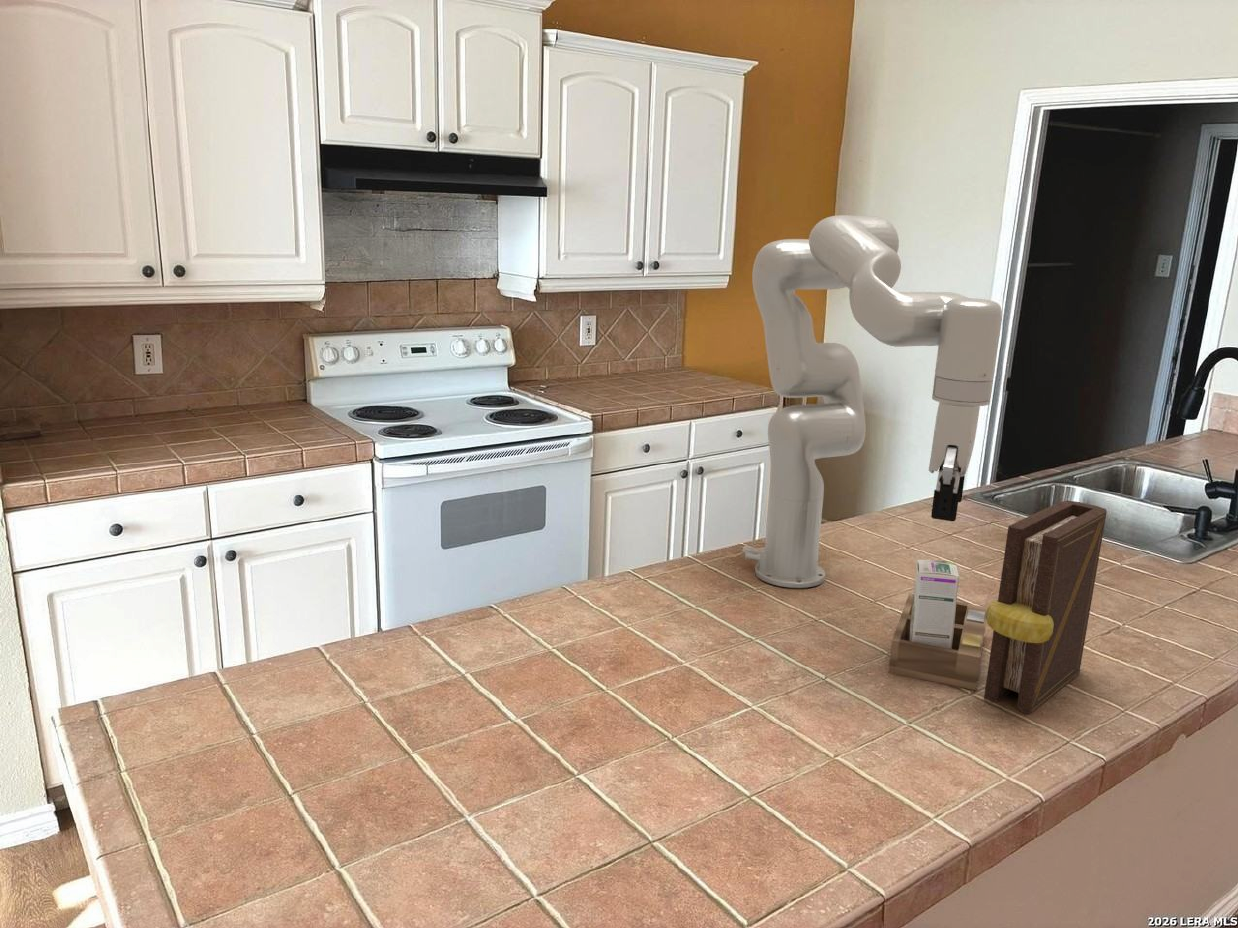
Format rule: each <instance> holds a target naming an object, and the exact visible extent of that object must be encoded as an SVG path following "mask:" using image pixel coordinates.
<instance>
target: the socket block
mask: <svg viewBox="0 0 1238 928" xmlns="http://www.w3.org/2000/svg"><path fill="white" fill-rule="evenodd" d="M913 594H914V593H908V596H907V599H906V600H905V601H906V602H905V603H904V606H903V609H902V612H901V614H900V617H899V620H898V623H897V626H896V628H895V631H894V633H893V635H892V636H893V637H892V639H891V644H890V645H891V646H890V654H889V664H888V673H891V674H896V675H900V676H904V677H909V678H915V679H920V680H925V681H930V682H935V683H939V684H943V685H949V686H954V687H958V688H962V689H968V690H972V691H977V686H978V678H979V673H980V672H979V671H980V666H981V658H982V651H983V645H984V639H985V630H986V625H987V620H986V615H987V609H988V607H989V606H982V605H977V604H971V603H965V602H959V601H957V603H956V613H955V623H954V632H953V641H952V649H948V648H943V647H938V646H933V645H928V644H922V643H917V642H912V641H909V633H910V624H911V614H912V605H913Z"/></svg>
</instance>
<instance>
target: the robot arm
mask: <svg viewBox="0 0 1238 928" xmlns="http://www.w3.org/2000/svg"><path fill="white" fill-rule="evenodd" d="M808 236H809V237H808V238H807V239H806V238H788V239H786V238H785V239H777V240H775V241H774V240H773V241H772V242H768V243H767V244H765V245H764V246H763V247H761V249H760V250H759V251H758V253H757V254H756V256H755V258H754V262H753V267H752V275H751V277H752V280H751V281H752V287H753V294H754V297H755V301H756V305H757V307H758V309H759V313H760V316H761V319H762V324H763V328H764V339H765V347H766V348H765V349H766V355H767V356H766V357H767V364H768V371H769V372H768V373H769V378H770V384H771V386H772V389H773V391H774V392H775V394H776V395H778V396H779V397H782V398H787V399H788V398H789V399H799V398H800V399H801V398H819V397H822V398H823V402H824V403H813V404H811V403H810V404H796V405H795V404H794V405H789V406H785V407H782V408H780V409H778V410H777V411H776V412H775V413H773V415H772V416H771V418H769V422H768V425H767V440H768V447H769V448H768V449H769V461H770V466H769V467H770V470H769V471H770V473H769V474H770V475H769V476H770V478H769V490H768V491H769V492H768V493H769V494H768V507H767V516H766V517H767V519H766V531H765V532H766V534H765V545H764V546H761V547H760V548H759V547H758V548H757V547H754V546H749V545H743V547H742V550H741V551H742V552H741V553H742V554H741V555H742V556H744V559H745V560H746V561H754V562H757V564H756V565H755V567H754V573H755V575H756V576H757V578H758V579H760V580H761V581H763V582H765V583H767V584H771V585H774V586H777V587H783V588H791V589H806V588H813V587H817V586H818V585H820V584H822V583H824V581H825V580H826V571H825V569H824V568H822V566H820V565H818V562H819V561H818V560H819V552H820V551H819V548H820V539H821V538H820V537H821V527H822V515H823V505H824V504H823V503H824V494H825V491H824V490H825V485H824V484H825V483H824V479H823V476H822V474H821V472H820V470H819V468H818V467H817V465H816V461H815V460H818V459H822V458H823V459H824V458H825V459H826V458H834V457H844V456H845V457H846V456H850V455H853V454H855V453H857V452H858V451H859V450H860V449H861V448H862V447H863V444H864V442H865V439H866V432H867V431H866V429H867V427H866V416H865V409H864V408H865V407H864V399H863V391H862V384H861V376H860V370H859V365H858V362H857V359H856V356H855V355H854V354H853V352H852V351H851V349H850V348H848V346H846V345H844V344H841V343H837V342H817V340H816V337H815V332H814V323H813V318H812V314H811V313H810V311H809V309H808V308H807V306H806V304H805V303H804V302H803V300H802V299H801V298H800V297H799V296H798V295H797V294H796V290H839V289H845V288H847V289H849V294H848V300H849V305H850V309H851V313H852V316H853V318H854V320H855V322H857V324H859V325H860V327H862V328H863V329H864V330H865V331H866V332H867V333H868V334H870V335H871V336H872V337H873V338H875V339H876V340H877V341H878V342H880V343H882V344H884V345H887V346H890V347H895V348H896V347H897V348H898V347H902V348H904V347H937V355H936V362H935V370H934V378H933V386H932V387H933V389H932V394H931V400H933V401H935V402H937V403H938V407H937V411H936V418H935V424H934V428H933V429H934V430H933V437H932V444H931V445H932V446H931V450H930V451H931V453H930V460H929V466H928V471H929V472H930V473H931V474H934V473H935V472H938V475H937V481H936V486H935V489H934V491H933V498H932V507H931V514H930V515H931V518H932V519H933V520H940V521H947V522H955V521H957V514H958V507H959V506H958V505H959V503H960V502H962V500H963V494H964V493H963V491H964V484H965V477H966V474H967V472H968V468H969V465H970V463H971V458H972V456H973V455H972V454H973V450H974V447H975V446H974V445H975V440H976V435H977V428H978V423H979V415H980V408H981V407H983V406H984V407H985V406H989V405H990V403H991V398H992V390H993V383H994V382H993V381H994V373H995V368H996V361H997V353H998V352H997V351H998V344H999V339H1000V331H1001V323H1002V317H1003V312H1002V310H1003V309H1002V307H1001V305H1000V304H999V303H998V302H996V301H994V300H989V299H985V298H984V299H983V298H971V297H967V296H965V295H962V294H960V293H956V292H945V291H942V292H941V291H938V292H937V291H935V292H934V291H933V292H932V291H907V292H906V291H905V292H904V291H902V292H901V291H900V292H899V291H897V290H895V289H893V287H894V286H895V284H896V283H897V281H898V279H899V277H900V274H901V269H902V263H901V259H900V256H899V255H898V252H899V247H900V239H899V234H898V232H897V229H896V228H895V226H893V224H892V223H891V222H890V221H889V220H887V219H885V218H883V217H881V216H873V215H870V216H869V215H867V216H866V215H850V214H849V215H847V214H845V215H844V214H842V215H841V214H840V215H832V216H828V217H826V218H825V217H824V218H823V219H821V220H819V222H817V223H816V224H815V225H814V226H813V228H812V230H810V233H809V235H808Z"/></svg>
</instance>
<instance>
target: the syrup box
mask: <svg viewBox="0 0 1238 928" xmlns="http://www.w3.org/2000/svg"><path fill="white" fill-rule="evenodd" d="M915 568H916V569H915V578H914V584H913V585H914V587H913V593H912V594H913V605H912V614H911V624H910V633H909V641H912V642H917V643H922V644H928V645H933V646H938V647H943V648H948V649H952V641H953V632H954V623H955V613H956V603H957V602H958V591H959V581H960V575H959V571H958V566H957V563H955V562H951V561H950V562H949V561H946V560H936V559H917V561H916V567H915Z"/></svg>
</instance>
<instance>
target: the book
mask: <svg viewBox="0 0 1238 928" xmlns="http://www.w3.org/2000/svg"><path fill="white" fill-rule="evenodd" d="M1107 513H1108V511H1107V509H1106V508H1103V507H1101V506H1098V505H1093V504H1090V503H1085V502H1081V501H1076V500H1075V501H1074V500H1059V502H1056V503H1054V504H1052V505H1050V506H1048V507H1046V508H1044V509H1042V510H1039V511H1037V512H1035V513H1033V514H1031V515H1028V516H1027V517H1025V518H1023V519H1020V520H1018V521H1016V522H1013V523H1012V524H1010V525H1008V526H1007V535H1006V541H1005V549H1004V555H1003V563H1002V569H1001V570H1002V571H1001V575H1000V576H1001V577H1000V581H999V582H1000V583H999V589H998V590H999V591H998V598H997V600H994V601H993V602H990V604H989V605H988V606H987V607H988V609H987V615H986V624H987V625H988V626H989V628H990V629H992V630H993V632H992V639H991V645H990V646H991V647H990V653H989V659H988V667H987V675H986V681H985V682H986V683H985V689H984V695H983V697H984V699H985V700H987V701H990V702H991V703H998V702H999V701H1001V700H1002V699H1003V698H1005V697H1006V696H1007V695H1009V694H1010V693H1012V692H1015V693H1017V694H1018V698H1017V705H1016V710H1015V711H1017V712H1018V713H1021V714H1023V715H1024V716H1025V715H1026V716H1031V715H1032V713H1034V712H1035V711H1037V710H1038V709H1039V708H1041V706H1043V705H1044V704H1045V703H1046V702H1047V701H1049V700H1050V699H1052V697H1054V696H1055V695H1056V694H1057V693H1058V692H1061V690H1062V689H1064V688H1065V687H1066V686H1067V685H1068V684H1070V683H1071V682H1072V681H1074V680H1075V679H1076V678H1077V677H1079V676H1080V673H1081V666H1082V659H1083V652H1084V646H1085V642H1086V635H1087V630H1088V623H1089V618H1090V611H1091V606H1092V601H1093V595H1094V589H1095V582H1096V576H1097V571H1098V566H1099V565H1098V564H1099V561H1100V560H1099V559H1100V554H1101V548H1102V541H1103V537H1104V535H1103V534H1104V531H1105V525H1106V519H1107Z"/></svg>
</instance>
